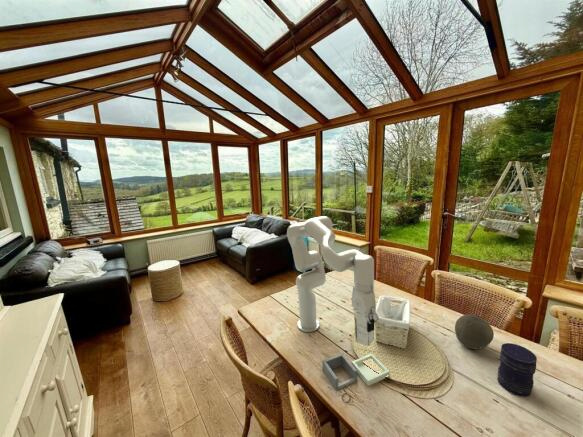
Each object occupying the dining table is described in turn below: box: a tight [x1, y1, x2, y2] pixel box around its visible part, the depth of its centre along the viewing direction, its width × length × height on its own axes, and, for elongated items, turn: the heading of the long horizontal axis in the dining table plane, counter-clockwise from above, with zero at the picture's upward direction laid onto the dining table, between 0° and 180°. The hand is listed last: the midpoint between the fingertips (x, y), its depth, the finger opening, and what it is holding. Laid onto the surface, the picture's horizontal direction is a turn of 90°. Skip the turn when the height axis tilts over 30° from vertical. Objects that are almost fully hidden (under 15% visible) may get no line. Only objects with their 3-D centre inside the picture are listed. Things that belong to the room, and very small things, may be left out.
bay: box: [321, 352, 358, 391], centre depth 100 cm, size 11×10×5 cm
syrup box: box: [353, 309, 375, 347], centre depth 97 cm, size 6×6×14 cm
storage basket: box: [374, 294, 411, 349], centre depth 123 cm, size 24×16×15 cm
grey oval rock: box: [454, 313, 495, 350], centre depth 111 cm, size 14×14×15 cm
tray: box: [351, 353, 390, 387], centre depth 101 cm, size 11×11×2 cm
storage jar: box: [497, 342, 538, 398], centre depth 90 cm, size 10×10×15 cm
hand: (364, 324), depth 97 cm, fingers closed on syrup box, 7 cm apart
